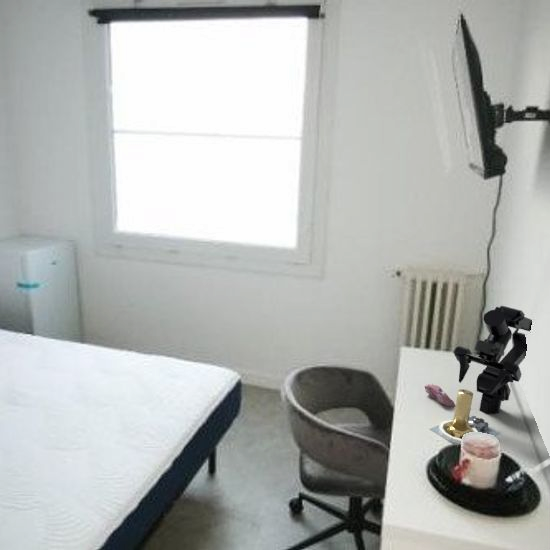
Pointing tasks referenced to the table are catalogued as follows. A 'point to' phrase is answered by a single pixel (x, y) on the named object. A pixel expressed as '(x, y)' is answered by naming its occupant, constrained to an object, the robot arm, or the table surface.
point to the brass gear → (461, 415)
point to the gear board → (441, 432)
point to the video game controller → (438, 394)
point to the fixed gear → (478, 424)
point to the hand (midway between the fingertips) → (474, 387)
